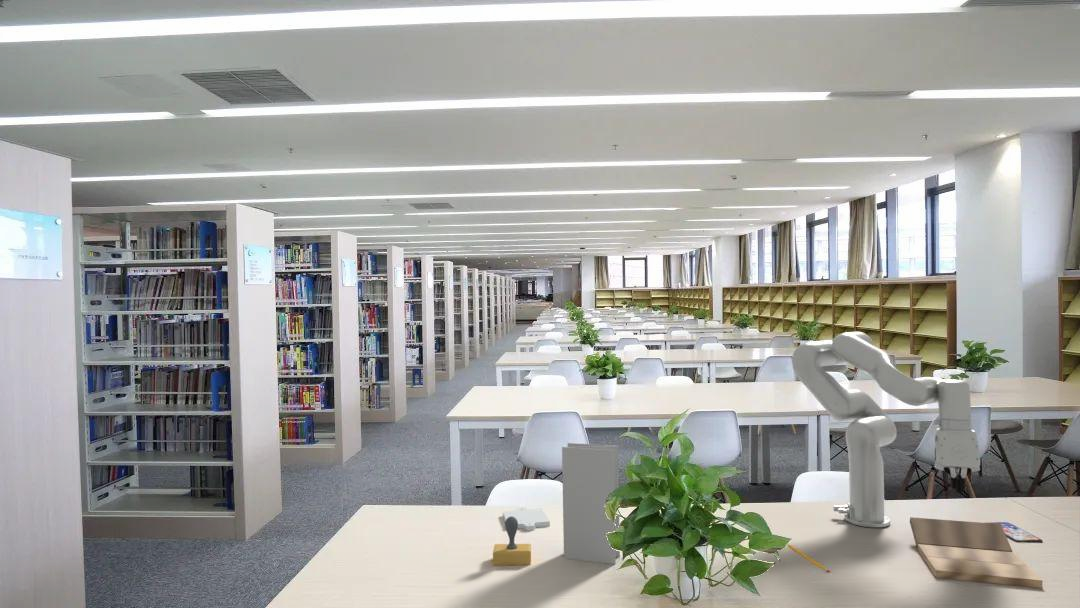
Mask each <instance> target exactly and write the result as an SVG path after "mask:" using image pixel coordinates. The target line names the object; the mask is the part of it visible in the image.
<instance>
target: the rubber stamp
mask: <svg viewBox="0 0 1080 608" xmlns="http://www.w3.org/2000/svg"><path fill="white" fill-rule="evenodd" d="M504 522H505V521H504ZM504 525H505V526H504V527H505V530H506V533H507V536H508V539H509V543H495V544H494V545H493V551H492V565H493V566H530V565H532V563H531V562H532V544H531V543H515V538H516V534H517V531H518V530H519V529H518V521H517V519H516V518H515V517H512V516H511V517H508V518H507V520H506V522H505V523H504Z"/></svg>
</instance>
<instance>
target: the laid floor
mask: <svg viewBox="0 0 1080 608" xmlns="http://www.w3.org/2000/svg"><path fill="white" fill-rule="evenodd" d="M917 551H918V553H919V555H920V556H921V558H922V559H923V560H924V562H925V563H926V565H927V567H928V568H929V569H930V572H931V573H932V574H933V576H934V577H935V578H937V579H938V578H939V579H946V580H947V579H948V580H949V579H950V580H958V581H966V582H967V581H968V582H979V583H989V584H999V585H1009V586H1018V587H1028V588H1038V589H1043V579H1042V578H1040V577H1039V576H1038V575H1037V573H1035V572H1034V570H1032V569H1031V568H1030V567H1029V566H1028V565H1027V564H1026V563H1025V562H1024V561H1023V560H1021V558H1020V557H1018V556H1017V555H1016V554H1015V553H1014V552H1013V551H1012V552H1004V551H992V550H981V549H969V548H958V547H946V546H935V545H923V544H918V548H917Z"/></svg>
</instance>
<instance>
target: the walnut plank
mask: <svg viewBox="0 0 1080 608" xmlns="http://www.w3.org/2000/svg"><path fill="white" fill-rule="evenodd" d="M992 523H993V522H978V521H977V522H976V521H963V520H949V519H938V518H936V519H935V518H925V517H912V516H910V519H909V524H910V529H911V531H912V535H913V540H914V542H915V546H916V549H918V544H923V545H935V546H946V547H958V548H969V549H981V550H992V551H1004V552H1013V549H1012V547H1011V545H1010V542H1009V540H1008V539H1009V538H1007V537H1006V535H1005V532H1004V530H1003V527H1002V525H1001V524H992Z"/></svg>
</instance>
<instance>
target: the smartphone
mask: <svg viewBox="0 0 1080 608" xmlns="http://www.w3.org/2000/svg"><path fill="white" fill-rule="evenodd" d="M991 523H992V524H1001V525H1002V527H1003V530H1004V532H1005V535H1006V537H1007V539H1009V540H1011V541H1013V542H1015V543H1043V540H1042V539H1041V538H1039V537H1037V536H1035V535H1034V534H1031V533H1029V532H1028V531H1026V530H1023V529H1022V528H1020V527H1018V526H1016V525H1014V524H1013V523H1011V522H1006V521H1005V522H1003V521H1002V522H1001V521H1000V522H999V521H998V522H996V521H995V522H991Z"/></svg>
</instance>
